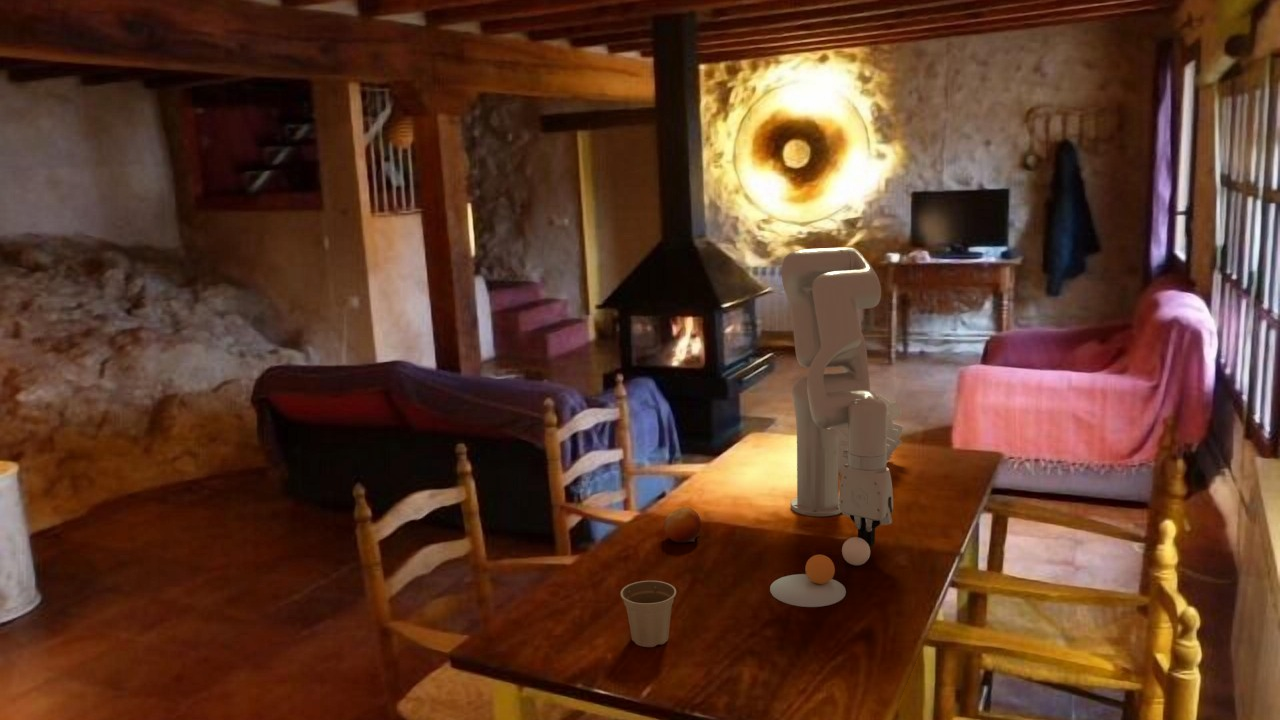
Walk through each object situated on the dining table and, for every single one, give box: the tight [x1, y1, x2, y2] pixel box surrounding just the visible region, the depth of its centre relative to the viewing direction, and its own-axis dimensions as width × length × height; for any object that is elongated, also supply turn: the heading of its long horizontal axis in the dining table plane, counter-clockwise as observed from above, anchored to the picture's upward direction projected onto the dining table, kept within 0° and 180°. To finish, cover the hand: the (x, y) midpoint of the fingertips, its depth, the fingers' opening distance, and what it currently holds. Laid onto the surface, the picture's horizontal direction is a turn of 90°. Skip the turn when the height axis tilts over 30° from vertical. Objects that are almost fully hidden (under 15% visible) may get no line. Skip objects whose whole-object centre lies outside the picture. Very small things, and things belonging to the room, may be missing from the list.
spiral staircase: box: [836, 393, 904, 476], centre depth 249 cm, size 18×18×25 cm
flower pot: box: [620, 580, 677, 648], centre depth 162 cm, size 9×9×9 cm
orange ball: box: [804, 554, 836, 584], centre depth 181 cm, size 6×6×6 cm
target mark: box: [769, 573, 847, 608], centre depth 179 cm, size 14×14×1 cm
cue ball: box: [841, 536, 871, 566], centre depth 189 cm, size 6×6×6 cm
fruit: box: [663, 506, 702, 544], centre depth 206 cm, size 8×8×8 cm
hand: (866, 546), depth 194 cm, fingers closed
